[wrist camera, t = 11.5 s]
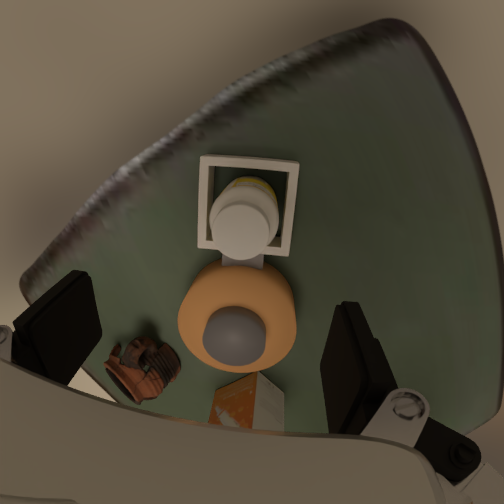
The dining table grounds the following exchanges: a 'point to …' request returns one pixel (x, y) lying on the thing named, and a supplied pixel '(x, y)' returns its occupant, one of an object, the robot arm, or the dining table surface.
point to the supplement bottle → (244, 218)
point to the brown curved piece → (132, 374)
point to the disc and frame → (240, 287)
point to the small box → (249, 404)
